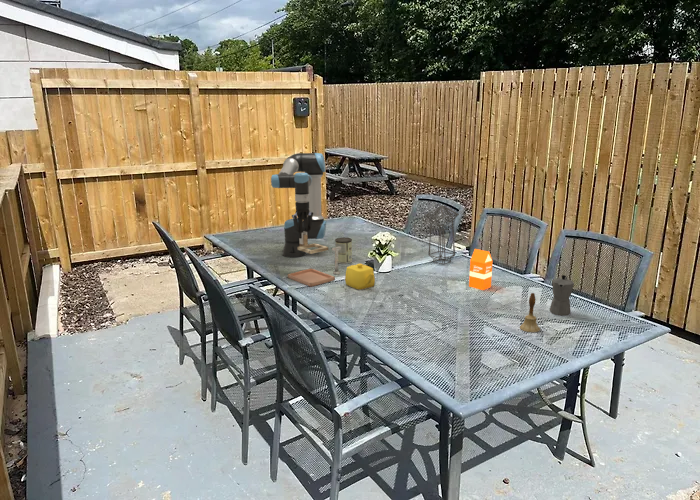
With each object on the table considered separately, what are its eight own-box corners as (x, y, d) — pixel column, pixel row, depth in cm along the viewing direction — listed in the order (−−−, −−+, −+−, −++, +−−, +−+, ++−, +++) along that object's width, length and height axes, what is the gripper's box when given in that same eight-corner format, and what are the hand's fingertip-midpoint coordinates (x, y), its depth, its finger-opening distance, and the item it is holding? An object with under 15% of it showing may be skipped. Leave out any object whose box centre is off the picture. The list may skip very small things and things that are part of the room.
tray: (287, 277, 299) (287, 274, 299) (311, 271, 310) (311, 268, 309) (310, 286, 283) (310, 283, 283) (334, 280, 294) (334, 276, 294)
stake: (330, 273, 306) (330, 247, 302) (338, 271, 309) (337, 246, 305) (335, 275, 303) (334, 249, 299) (342, 273, 306) (342, 247, 302)
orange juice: (476, 283, 288) (478, 247, 282) (491, 286, 281) (493, 250, 276) (468, 286, 282) (470, 250, 277) (483, 290, 276) (485, 253, 271)
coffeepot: (568, 319, 238) (573, 280, 234) (546, 315, 243) (550, 277, 238) (573, 307, 252) (577, 271, 247) (552, 304, 256) (555, 268, 251)
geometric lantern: (443, 267, 316) (444, 209, 307) (423, 262, 328) (423, 206, 319) (460, 261, 326) (461, 205, 317) (439, 257, 338) (440, 202, 329)
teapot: (381, 288, 281) (382, 266, 278) (363, 293, 274) (363, 271, 271) (358, 278, 297) (358, 258, 294) (340, 283, 290) (340, 262, 286)
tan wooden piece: (292, 247, 294) (291, 235, 292) (309, 244, 302) (309, 232, 300) (310, 253, 282) (310, 241, 280) (328, 249, 289) (328, 237, 288)
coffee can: (336, 258, 335) (336, 237, 331) (352, 259, 334) (352, 237, 330) (334, 263, 325) (334, 241, 322) (351, 263, 324) (351, 241, 321)
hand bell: (516, 325, 232) (519, 290, 228) (535, 324, 233) (538, 290, 229) (524, 333, 224) (527, 297, 220) (543, 332, 225) (546, 296, 221)
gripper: (294, 204, 282) (296, 247, 288) (317, 200, 292) (318, 242, 298) (286, 202, 288) (288, 244, 294) (309, 199, 297) (310, 240, 303)
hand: (303, 243), depth 296 cm, fingers closed on tan wooden piece, 2 cm apart
